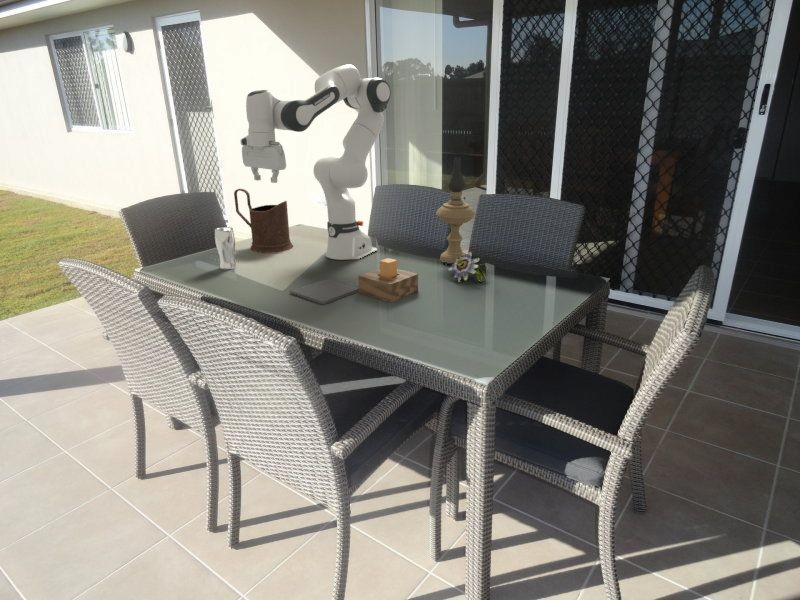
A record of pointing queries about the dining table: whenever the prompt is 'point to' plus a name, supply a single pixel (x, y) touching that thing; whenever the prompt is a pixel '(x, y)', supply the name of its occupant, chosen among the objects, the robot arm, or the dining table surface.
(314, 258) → the dining table surface
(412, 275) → the socket block
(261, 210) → the rusty metal jug
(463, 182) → the oil lamp
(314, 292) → the mat
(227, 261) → the beer glass
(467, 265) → the passion flower
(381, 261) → the pin
